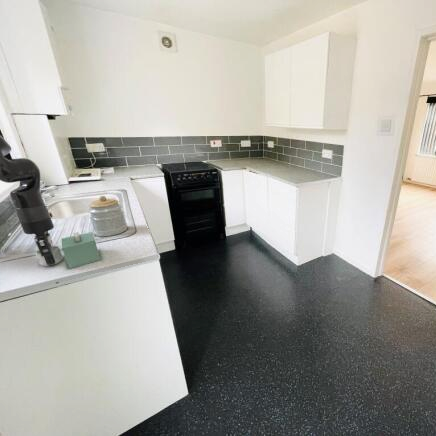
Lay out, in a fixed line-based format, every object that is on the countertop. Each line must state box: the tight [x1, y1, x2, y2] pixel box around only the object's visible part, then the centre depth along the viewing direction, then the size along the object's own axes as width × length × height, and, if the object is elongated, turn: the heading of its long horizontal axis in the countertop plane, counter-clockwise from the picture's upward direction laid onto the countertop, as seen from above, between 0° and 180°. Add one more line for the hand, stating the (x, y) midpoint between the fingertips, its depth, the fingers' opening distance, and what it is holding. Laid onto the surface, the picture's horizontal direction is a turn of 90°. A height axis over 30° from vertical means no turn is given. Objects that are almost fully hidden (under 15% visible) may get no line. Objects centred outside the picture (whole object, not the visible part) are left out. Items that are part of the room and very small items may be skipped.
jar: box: [87, 195, 128, 237], centre depth 114 cm, size 13×13×18 cm
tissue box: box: [61, 231, 102, 269], centre depth 91 cm, size 9×11×10 cm
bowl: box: [35, 245, 64, 267], centre depth 89 cm, size 6×6×5 cm
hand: (51, 260), depth 90 cm, fingers closed on bowl, 6 cm apart
